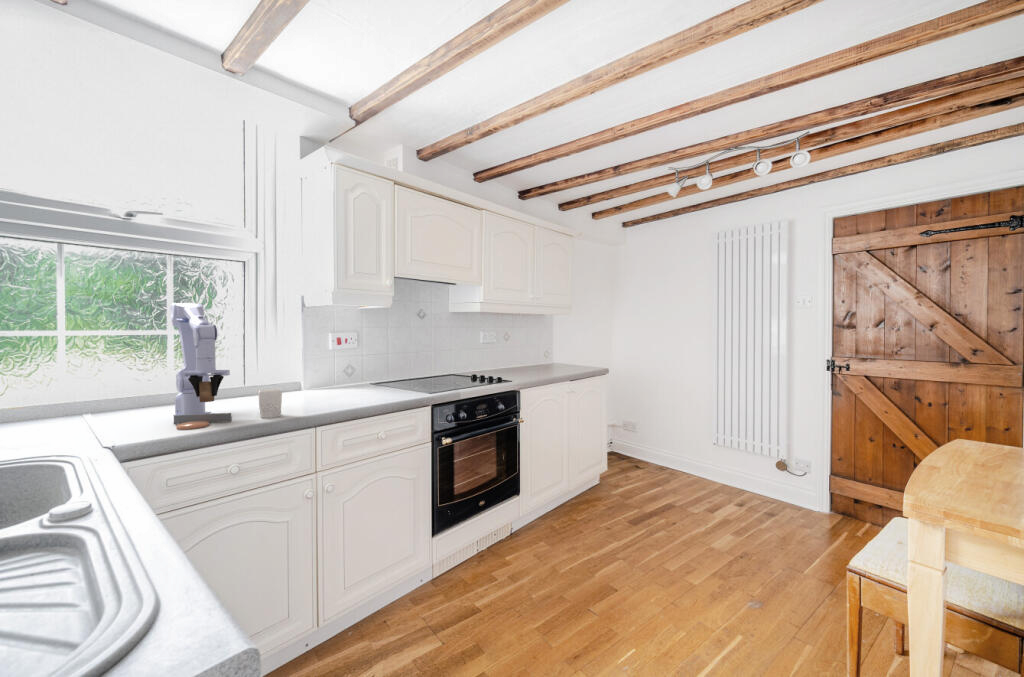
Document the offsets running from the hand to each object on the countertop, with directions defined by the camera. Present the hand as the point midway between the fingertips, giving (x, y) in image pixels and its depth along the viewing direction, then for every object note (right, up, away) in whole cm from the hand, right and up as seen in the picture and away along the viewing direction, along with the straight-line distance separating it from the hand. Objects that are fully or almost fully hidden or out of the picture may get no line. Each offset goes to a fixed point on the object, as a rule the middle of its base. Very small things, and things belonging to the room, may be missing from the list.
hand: (206, 396), depth 157 cm
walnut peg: (0, -2, 0) cm, 2 cm away
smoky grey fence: (0, -9, -3) cm, 9 cm away
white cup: (+19, -9, +8) cm, 22 cm away
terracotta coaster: (+2, -9, -9) cm, 13 cm away
